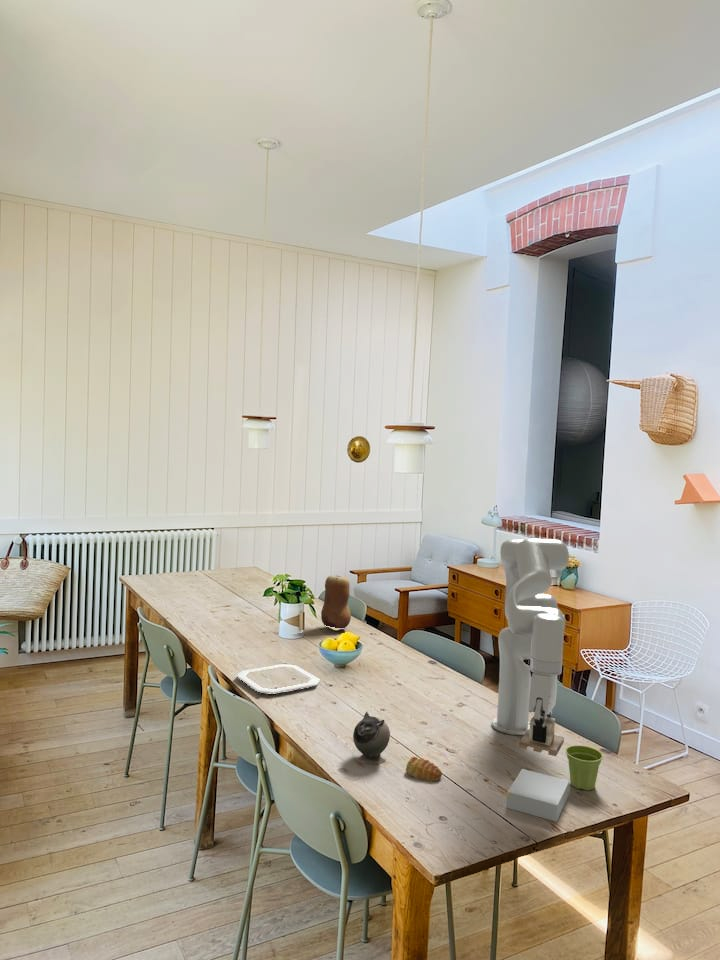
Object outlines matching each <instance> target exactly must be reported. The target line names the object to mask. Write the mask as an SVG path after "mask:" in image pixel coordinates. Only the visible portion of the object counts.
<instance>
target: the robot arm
mask: <svg viewBox="0 0 720 960" xmlns="http://www.w3.org/2000/svg"><path fill="white" fill-rule="evenodd" d="M569 560H570V552H569V548H568V547H567V545H566V543H565V542H564V541H562V540H560V539H551V538H549V539H548V538H547V539H546V538H525V539H508V540H505V541H504V542H502V543H501V546H500V561H501V563H502V567H503V570H504V573H505V594H504V595H505V596H504V598H505V600H504V615H505V618H506V620H507V625H508V626H507V627H504V628H502V629H501V630H500V631H499V634H498V637H497V639H498V651H499V680H498V695H497V696H498V697H497V698H498V699H497V712H496V713H497V714H496V715H497V716H496V717H493V719H492V720H491V726H492V727H493V729H495V730H496V731H498V732H501V733H503V734H508V735H511V736H523V735H524V734H525V733H526V731H527V730H528V729H530V720H529V717H530V713H533V712H534V715H533V716H534V722H533V736H532V740H533V741H536V742H541V743H545V742H546V733H547V727H546V717H550V718H553V709H554V708H555V706H556V702H557V696H558V695H557V691H558V690H557V689H558V676H559V675H562V672H563V671H562V670H563V669H562V668H563V654H564V653H563V651H564V635H565V634H564V633H565V628H566V616H565V614H564V613H563V612H562V610H561V609H560V608H559V605H558V603H557V599H556V598H555V596H554V595H551V594H549V593H545V592H547V591H548V590H550V589H549V588H551V585H552V582H553V581H552V580H553V579H552V574H551V570H552V571H553V570H554V571H563V570H565V569H566V568H567V567H568V565H569ZM524 660H530V663H529V667H528V665H527V664H526V662H524ZM531 672H532V674H531ZM541 716H543V720H542V718H541Z"/></svg>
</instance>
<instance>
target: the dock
mask: <svg viewBox="0 0 720 960" xmlns="http://www.w3.org/2000/svg"><path fill="white" fill-rule="evenodd" d="M569 792H570V780H567V779H563V778H559V777H556V776H551V775H548V774H544V773H540V772H537V771H531V770H527V769H525V768H522V769H521V770H520V772H519V773H518V775H517V776H516V777H515V780H514V781H513V782H512V784H511V785H510V787H509V788H508V790H507V792H506V796H507V797H506V798H507V799H506V808H507V809H510V810H514V811H517V812H521V813H524V814H528V815H531V816H535V817H539V818H543V819H545V820H549V821H553V822H556V823H557V822H558V819H559V818H560V815H561V813H562V811H563V809H564V807H565V805H566V802H567V801H568V799H569V794H570V793H569Z"/></svg>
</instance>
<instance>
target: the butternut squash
mask: <svg viewBox="0 0 720 960" xmlns="http://www.w3.org/2000/svg"><path fill="white" fill-rule="evenodd" d="M349 598H350V582H349V579H348V578H347V577H345V576H343V575H338V574H334V575H333V574H332V575H328V577H326V580H325V583H324V601H323V605H322V609H321V612H320V614H321V617H320V618H321V619H320V620H321V622H322V624H323V625H324V626H325V625H326V626H330V627H335V628H345V627H346V628H347V627H348V626H349V625H350V622H351V618H352V614H351V610H350V606H349V603H348V602H349ZM326 626H325V627H326ZM346 628H345V629H346Z"/></svg>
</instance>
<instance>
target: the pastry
mask: <svg viewBox="0 0 720 960" xmlns="http://www.w3.org/2000/svg"><path fill="white" fill-rule="evenodd" d="M405 772H406V773H407V775H409V776H410V777H414V778H415V779H417V780H418V779H419V780H422V781H428V782H437V781H439V780H440V779H441V778H442V776H443V772H442V770H441V769H440V768H439V767H438V766H437V765H435V764H434V763H433V762H431V761H429V760H428V759H425V758H423V757H419V758H418V757H417V756H412V757H411V758H409V760H408V761H407V764H406V767H405Z"/></svg>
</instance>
